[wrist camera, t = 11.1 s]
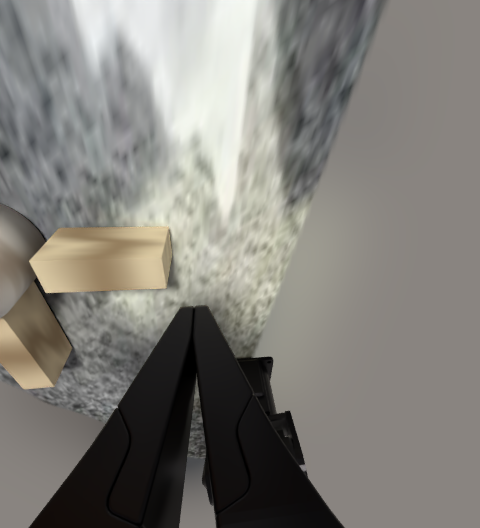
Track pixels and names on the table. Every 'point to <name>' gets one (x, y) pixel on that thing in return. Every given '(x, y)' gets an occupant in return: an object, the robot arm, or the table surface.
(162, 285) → the folding leg
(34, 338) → the stool base
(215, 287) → the table surface
